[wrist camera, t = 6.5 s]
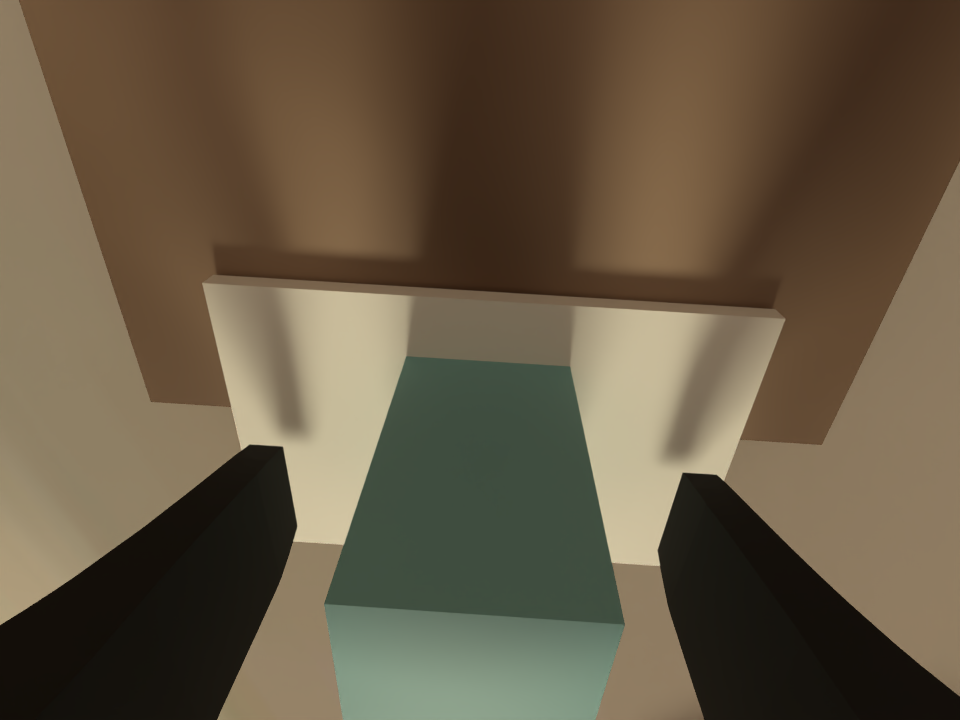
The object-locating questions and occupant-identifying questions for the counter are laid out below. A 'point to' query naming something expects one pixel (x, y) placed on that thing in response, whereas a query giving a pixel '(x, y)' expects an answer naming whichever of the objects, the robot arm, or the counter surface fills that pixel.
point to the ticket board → (513, 159)
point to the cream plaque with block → (482, 471)
